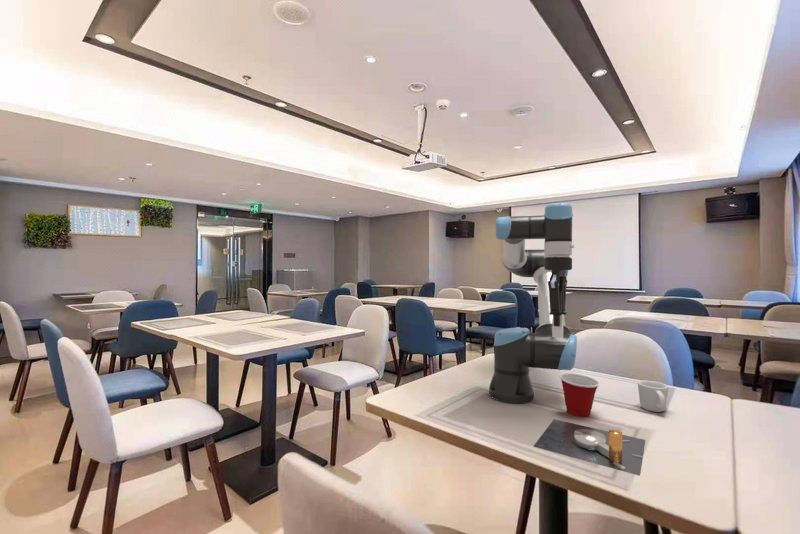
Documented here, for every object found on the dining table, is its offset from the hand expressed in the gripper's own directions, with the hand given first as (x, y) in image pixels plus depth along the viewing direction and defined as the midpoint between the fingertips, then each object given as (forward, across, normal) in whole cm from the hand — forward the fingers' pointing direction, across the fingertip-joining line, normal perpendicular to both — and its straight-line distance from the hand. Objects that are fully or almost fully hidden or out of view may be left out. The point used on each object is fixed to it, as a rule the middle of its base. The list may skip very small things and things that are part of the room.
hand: (557, 336), depth 112 cm
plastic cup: (+25, +5, -5) cm, 26 cm away
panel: (+24, -14, -11) cm, 30 cm away
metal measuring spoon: (+23, -17, -13) cm, 31 cm away
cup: (+25, +25, -23) cm, 42 cm away
